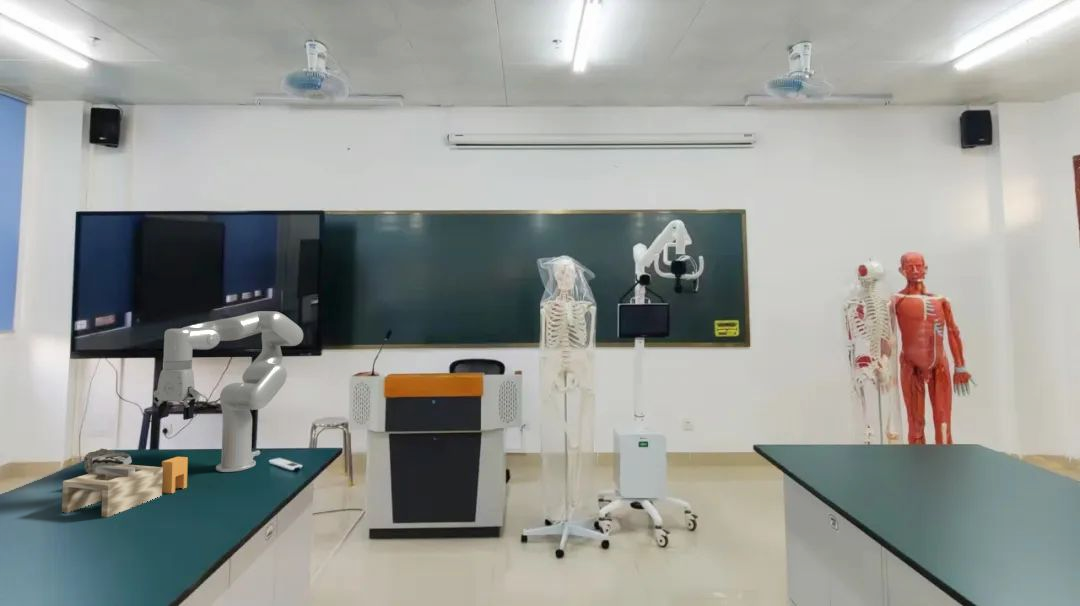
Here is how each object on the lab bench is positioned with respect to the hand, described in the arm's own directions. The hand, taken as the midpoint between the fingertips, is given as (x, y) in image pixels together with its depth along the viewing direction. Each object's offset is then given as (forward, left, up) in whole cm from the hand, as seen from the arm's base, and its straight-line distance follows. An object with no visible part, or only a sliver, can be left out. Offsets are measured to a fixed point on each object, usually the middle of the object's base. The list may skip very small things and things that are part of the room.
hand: (175, 418), depth 154 cm
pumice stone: (-9, -40, -24) cm, 47 cm away
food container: (+1, -22, -24) cm, 32 cm away
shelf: (+13, -7, -24) cm, 28 cm away
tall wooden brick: (0, 0, -24) cm, 24 cm away
